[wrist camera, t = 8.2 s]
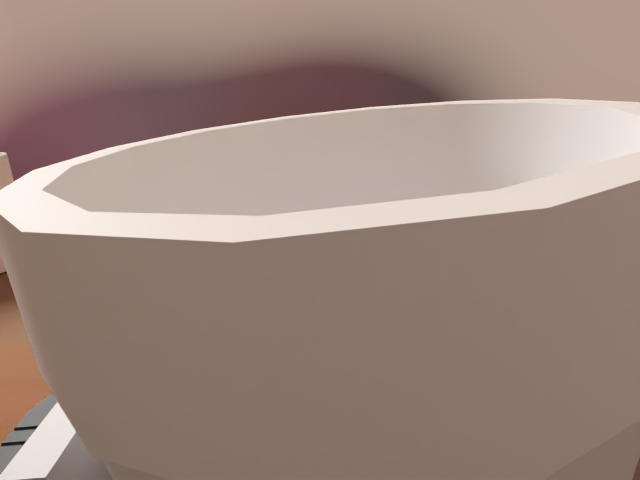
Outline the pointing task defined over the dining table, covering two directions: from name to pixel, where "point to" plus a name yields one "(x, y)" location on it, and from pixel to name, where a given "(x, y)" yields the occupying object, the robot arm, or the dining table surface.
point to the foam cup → (345, 294)
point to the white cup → (3, 177)
